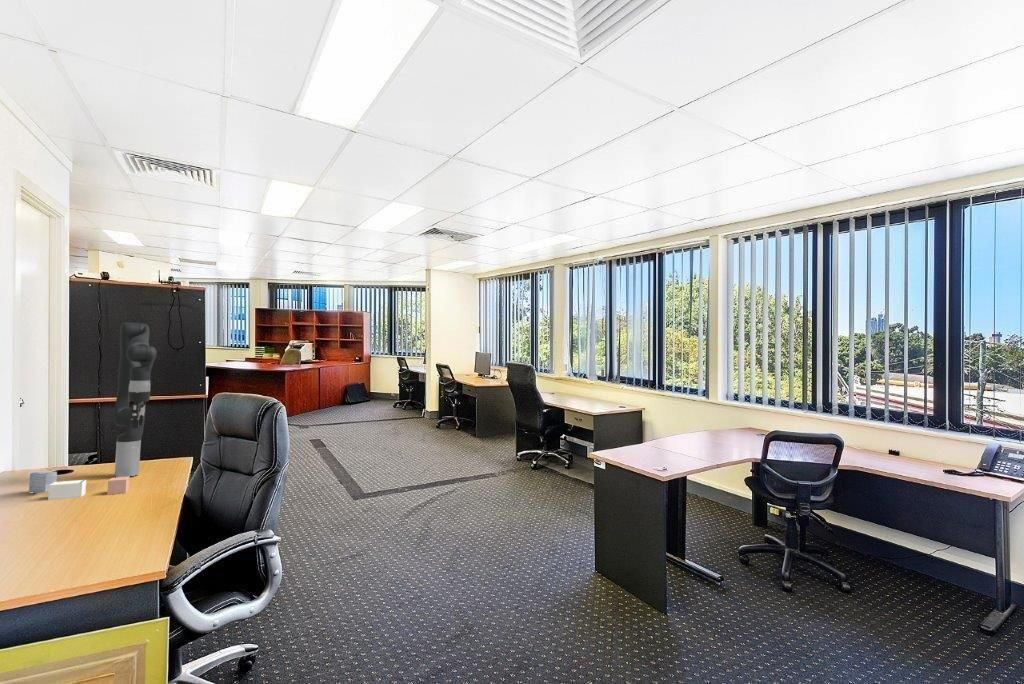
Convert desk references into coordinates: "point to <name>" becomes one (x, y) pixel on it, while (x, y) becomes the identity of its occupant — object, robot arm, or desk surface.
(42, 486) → the medicine box
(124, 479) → the pink cube block
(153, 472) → the desk surface
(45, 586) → the desk surface
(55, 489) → the ticket block
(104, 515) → the desk surface
